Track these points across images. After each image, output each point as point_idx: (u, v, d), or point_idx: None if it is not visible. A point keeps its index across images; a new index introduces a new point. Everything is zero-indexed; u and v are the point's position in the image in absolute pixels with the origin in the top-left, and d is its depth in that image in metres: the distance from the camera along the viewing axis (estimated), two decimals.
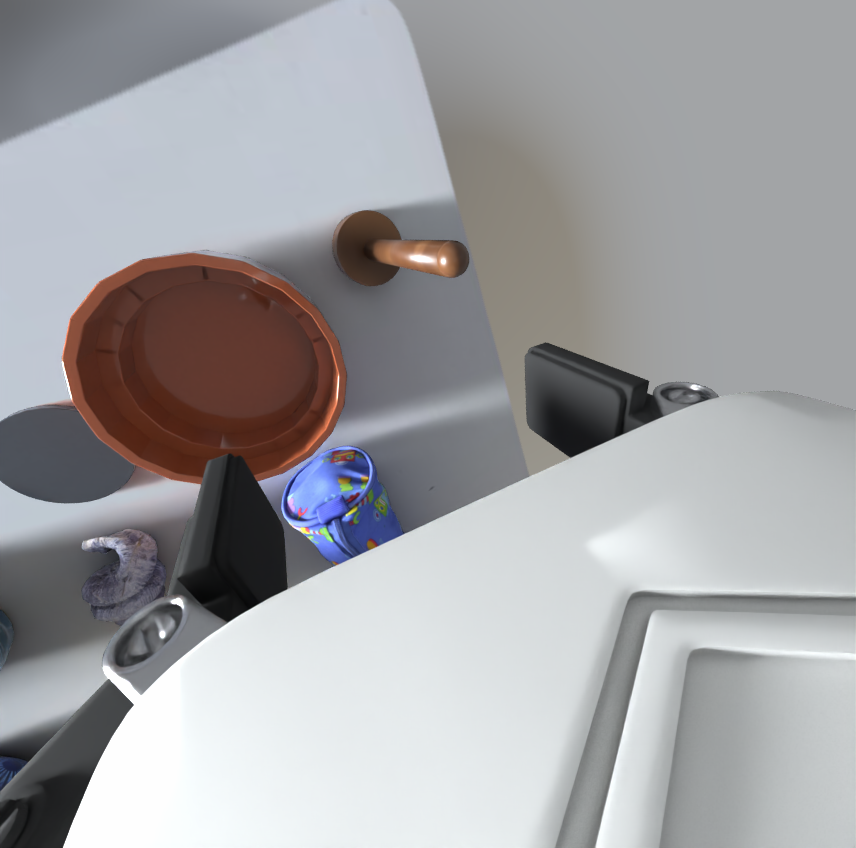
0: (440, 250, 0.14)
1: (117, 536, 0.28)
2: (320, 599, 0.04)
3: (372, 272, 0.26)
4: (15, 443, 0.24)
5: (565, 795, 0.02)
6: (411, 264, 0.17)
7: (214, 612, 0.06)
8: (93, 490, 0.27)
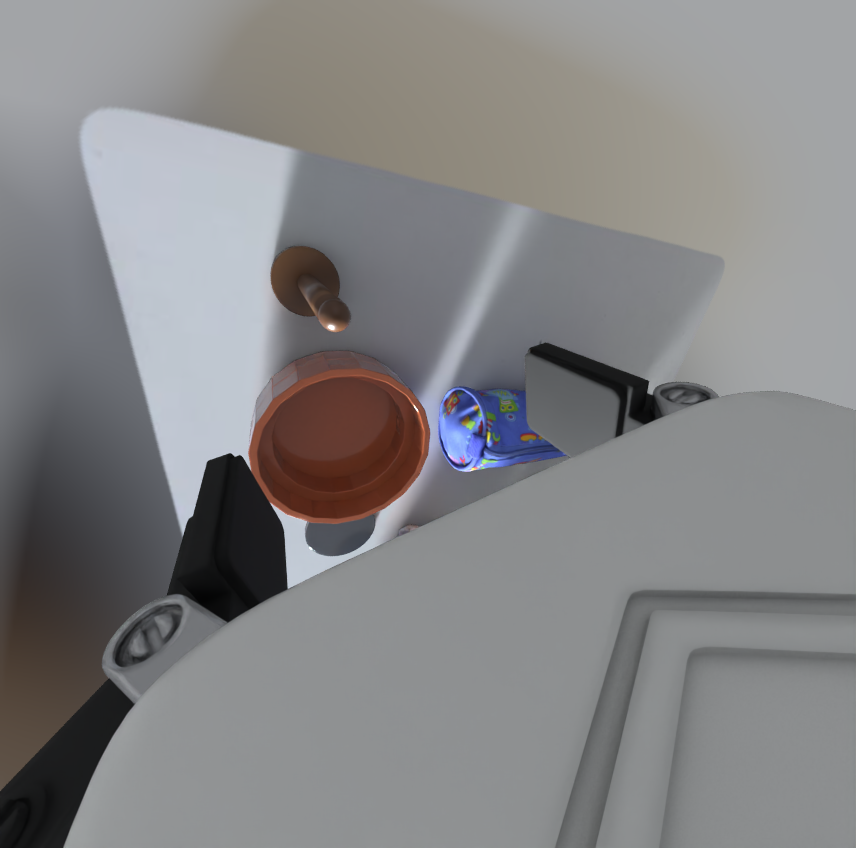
0: None
1: None
2: (320, 599, 0.04)
3: None
4: (320, 541, 0.40)
5: (565, 795, 0.02)
6: None
7: (214, 612, 0.06)
8: (367, 529, 0.42)
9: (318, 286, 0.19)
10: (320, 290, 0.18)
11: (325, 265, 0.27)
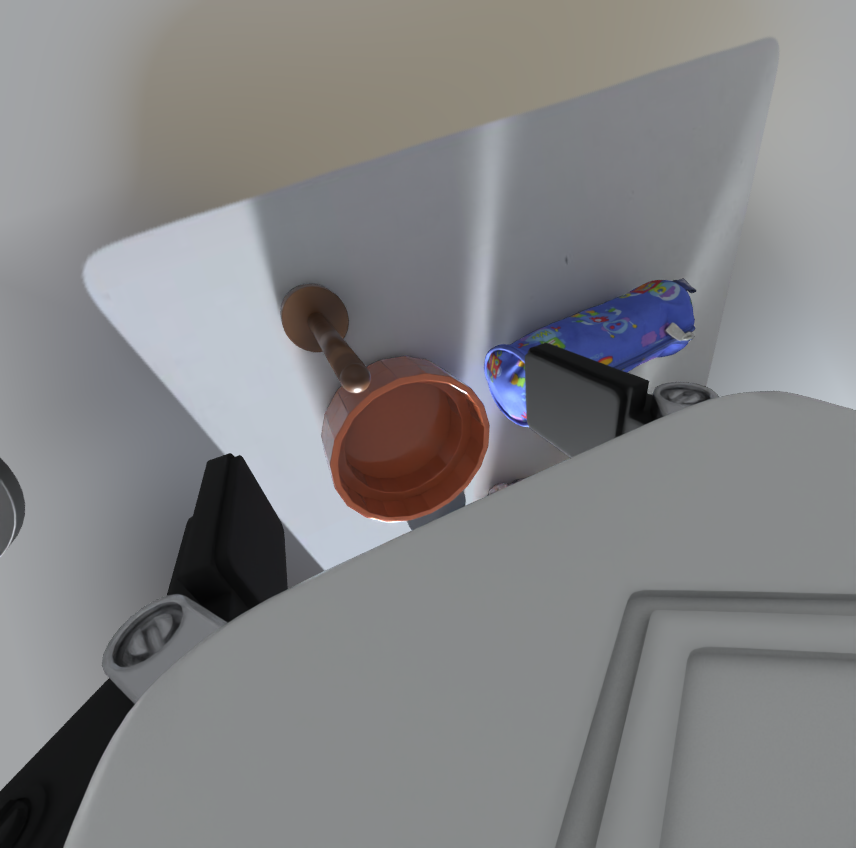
0: (348, 391, 0.16)
1: None
2: (320, 599, 0.04)
3: (336, 321, 0.28)
4: None
5: (565, 795, 0.02)
6: None
7: (214, 612, 0.06)
8: (459, 502, 0.44)
9: (329, 340, 0.19)
10: (332, 348, 0.18)
11: (324, 296, 0.26)
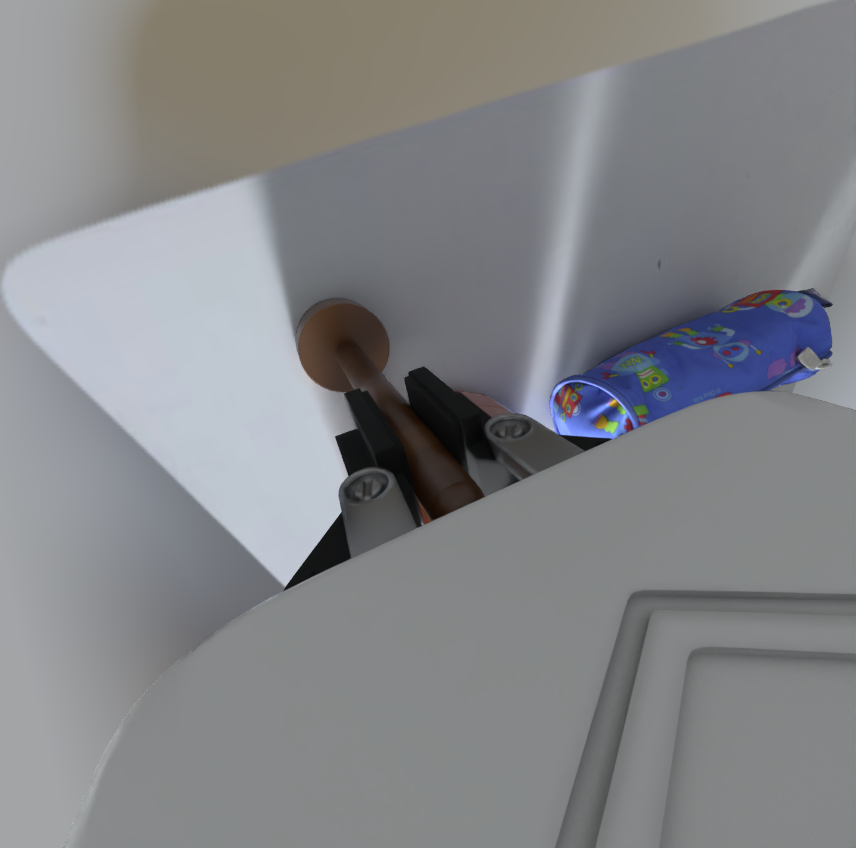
0: None
1: None
2: (320, 599, 0.04)
3: (373, 350, 0.20)
4: None
5: (565, 795, 0.02)
6: None
7: None
8: None
9: (383, 403, 0.12)
10: (396, 427, 0.10)
11: (358, 317, 0.19)
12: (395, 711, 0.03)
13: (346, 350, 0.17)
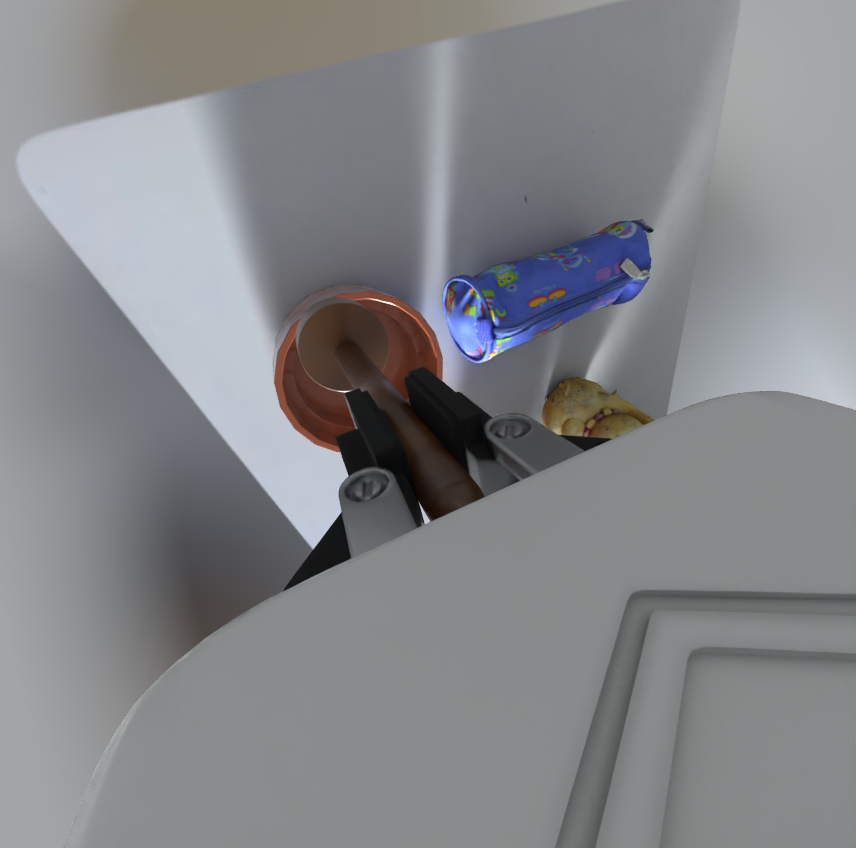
0: None
1: None
2: (320, 599, 0.04)
3: (373, 349, 0.20)
4: None
5: (565, 795, 0.02)
6: None
7: None
8: None
9: (383, 402, 0.12)
10: (396, 426, 0.10)
11: (358, 316, 0.19)
12: (395, 711, 0.03)
13: (346, 349, 0.17)
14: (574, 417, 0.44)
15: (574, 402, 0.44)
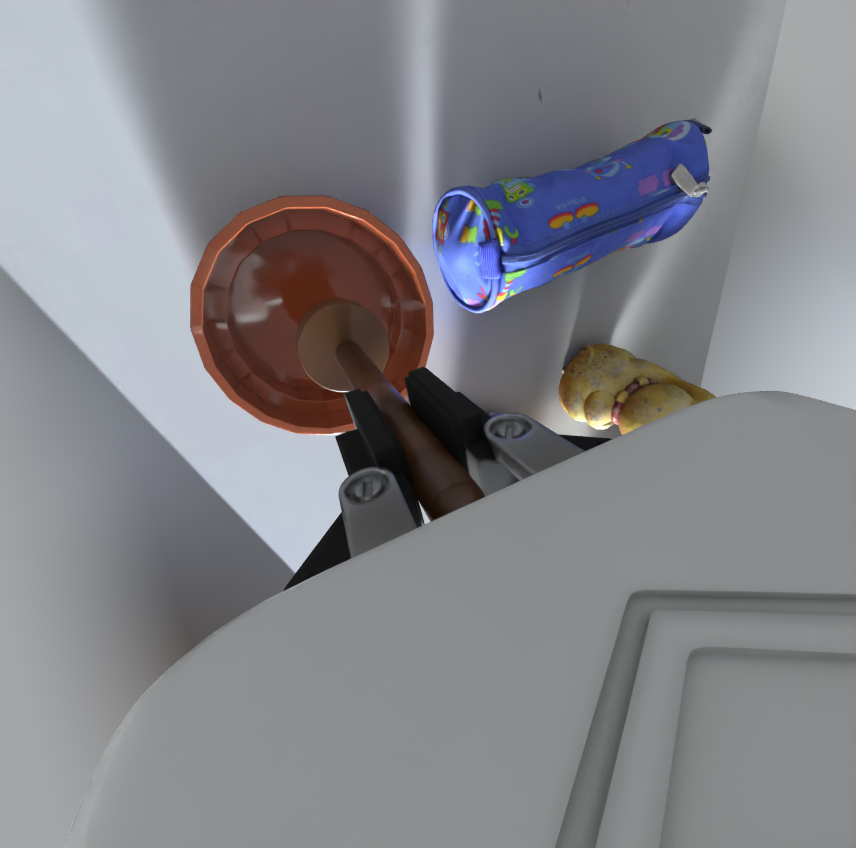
0: None
1: None
2: (320, 599, 0.04)
3: (373, 350, 0.20)
4: None
5: (565, 795, 0.02)
6: None
7: None
8: None
9: (383, 403, 0.12)
10: (397, 427, 0.10)
11: (359, 316, 0.19)
12: (395, 711, 0.03)
13: (346, 350, 0.17)
14: (601, 390, 0.35)
15: (600, 371, 0.35)
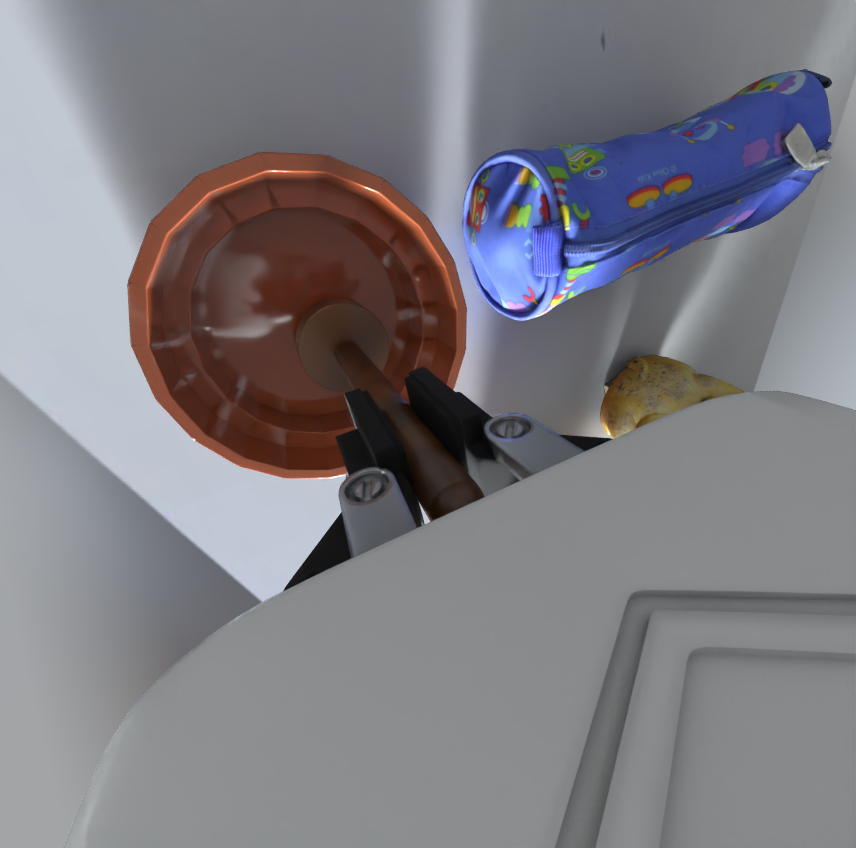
0: None
1: None
2: (320, 599, 0.04)
3: (372, 349, 0.20)
4: None
5: (565, 795, 0.02)
6: None
7: None
8: None
9: (383, 403, 0.12)
10: (396, 427, 0.10)
11: (358, 316, 0.19)
12: (395, 711, 0.03)
13: (346, 350, 0.17)
14: (659, 413, 0.29)
15: (658, 390, 0.29)
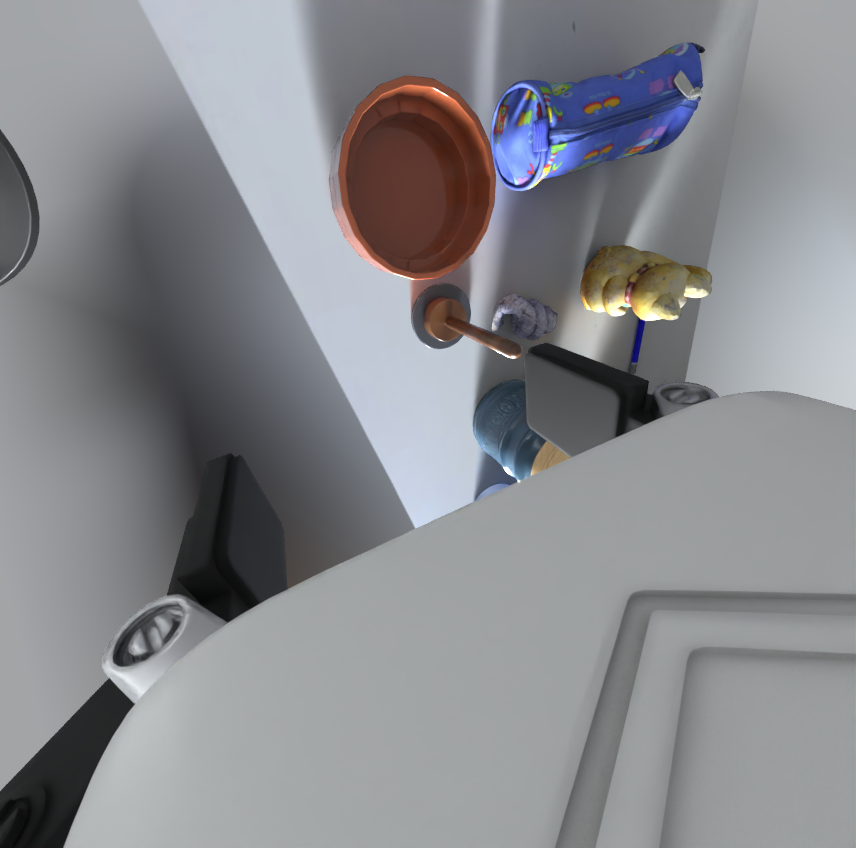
0: (510, 357, 0.31)
1: (496, 311, 0.45)
2: (320, 599, 0.04)
3: None
4: (428, 333, 0.44)
5: (565, 795, 0.02)
6: None
7: (214, 612, 0.06)
8: None
9: (483, 332, 0.34)
10: (491, 336, 0.33)
11: (455, 305, 0.42)
12: (395, 711, 0.03)
13: (454, 319, 0.40)
14: (617, 275, 0.44)
15: (616, 260, 0.44)
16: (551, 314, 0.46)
